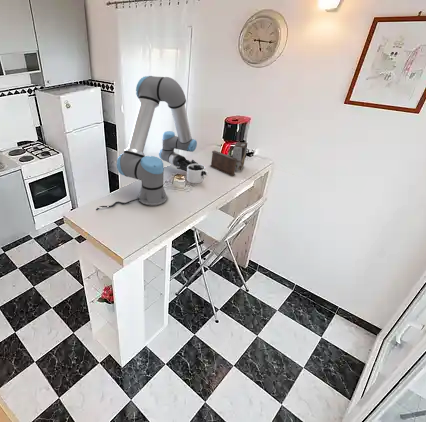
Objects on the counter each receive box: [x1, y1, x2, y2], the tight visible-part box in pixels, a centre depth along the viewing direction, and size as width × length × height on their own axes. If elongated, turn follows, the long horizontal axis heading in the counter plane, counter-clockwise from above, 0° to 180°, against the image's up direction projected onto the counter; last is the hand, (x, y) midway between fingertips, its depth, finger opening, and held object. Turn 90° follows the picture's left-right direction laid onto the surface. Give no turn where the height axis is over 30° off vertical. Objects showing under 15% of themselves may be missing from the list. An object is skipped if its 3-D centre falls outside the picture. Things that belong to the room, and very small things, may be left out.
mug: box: [186, 163, 209, 184], centre depth 170 cm, size 13×10×8 cm
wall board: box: [209, 149, 237, 177], centre depth 183 cm, size 18×3×11 cm, turn 32°
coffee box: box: [231, 141, 248, 173], centre depth 183 cm, size 9×6×16 cm
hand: (204, 173), depth 166 cm, fingers closed on mug, 2 cm apart
